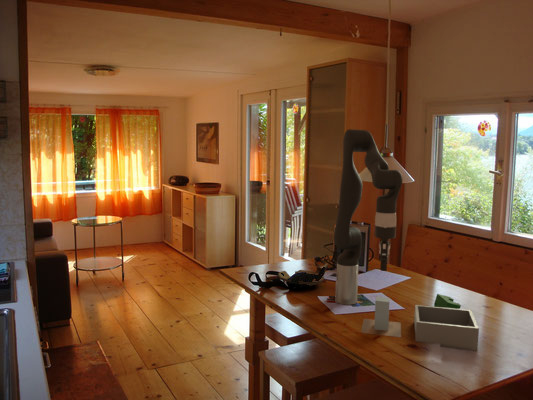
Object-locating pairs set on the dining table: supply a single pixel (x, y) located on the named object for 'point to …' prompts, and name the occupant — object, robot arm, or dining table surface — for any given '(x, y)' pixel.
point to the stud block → (393, 330)
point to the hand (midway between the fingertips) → (383, 267)
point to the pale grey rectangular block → (381, 313)
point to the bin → (446, 327)
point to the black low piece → (286, 275)
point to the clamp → (445, 302)
